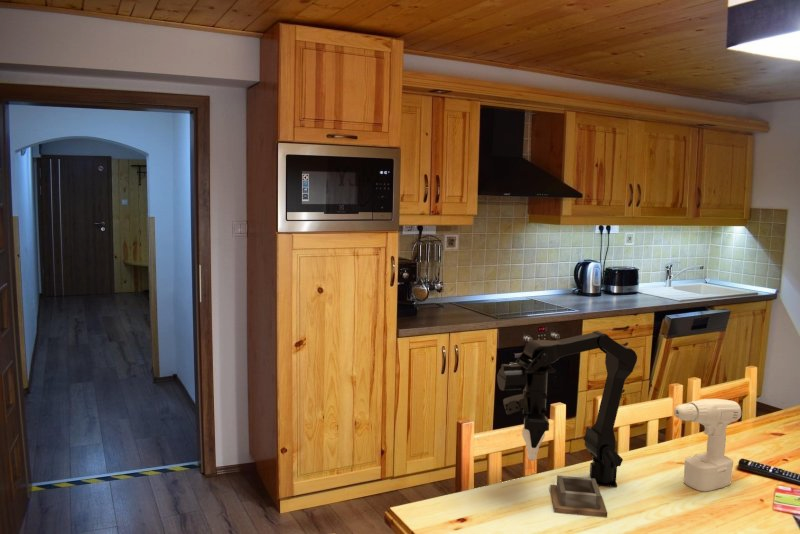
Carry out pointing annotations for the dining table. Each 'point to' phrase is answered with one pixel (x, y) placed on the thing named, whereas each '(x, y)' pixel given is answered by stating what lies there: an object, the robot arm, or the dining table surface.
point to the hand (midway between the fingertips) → (533, 443)
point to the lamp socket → (577, 496)
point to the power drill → (709, 442)
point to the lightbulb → (531, 451)
